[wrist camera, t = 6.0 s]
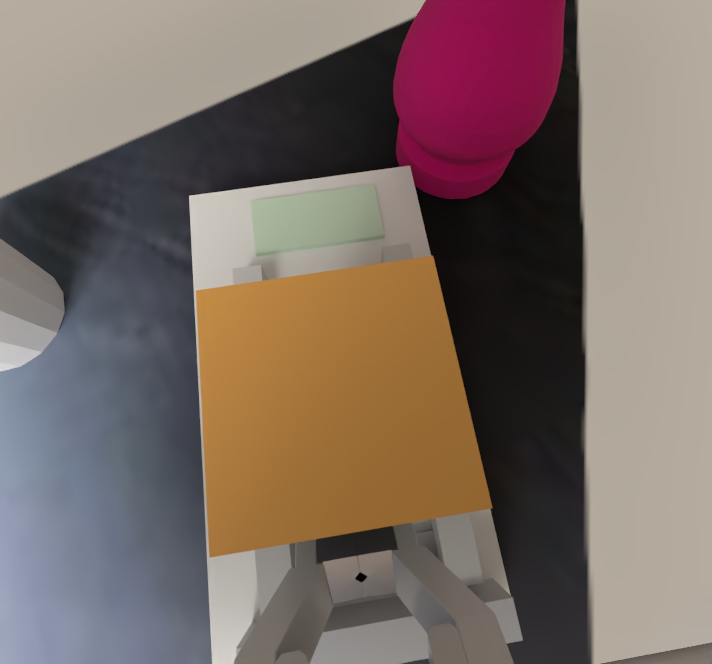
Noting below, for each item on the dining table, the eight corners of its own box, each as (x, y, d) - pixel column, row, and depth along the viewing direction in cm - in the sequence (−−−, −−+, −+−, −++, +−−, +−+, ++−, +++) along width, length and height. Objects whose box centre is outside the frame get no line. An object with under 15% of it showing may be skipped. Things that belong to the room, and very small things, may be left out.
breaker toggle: (302, 489, 16) (209, 557, 6) (290, 383, 17) (196, 290, 7) (408, 471, 16) (492, 508, 6) (389, 367, 17) (433, 255, 7)
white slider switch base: (230, 654, 16) (190, 718, 12) (204, 218, 22) (170, 168, 18) (498, 605, 16) (541, 652, 13) (405, 190, 22) (415, 135, 18)
